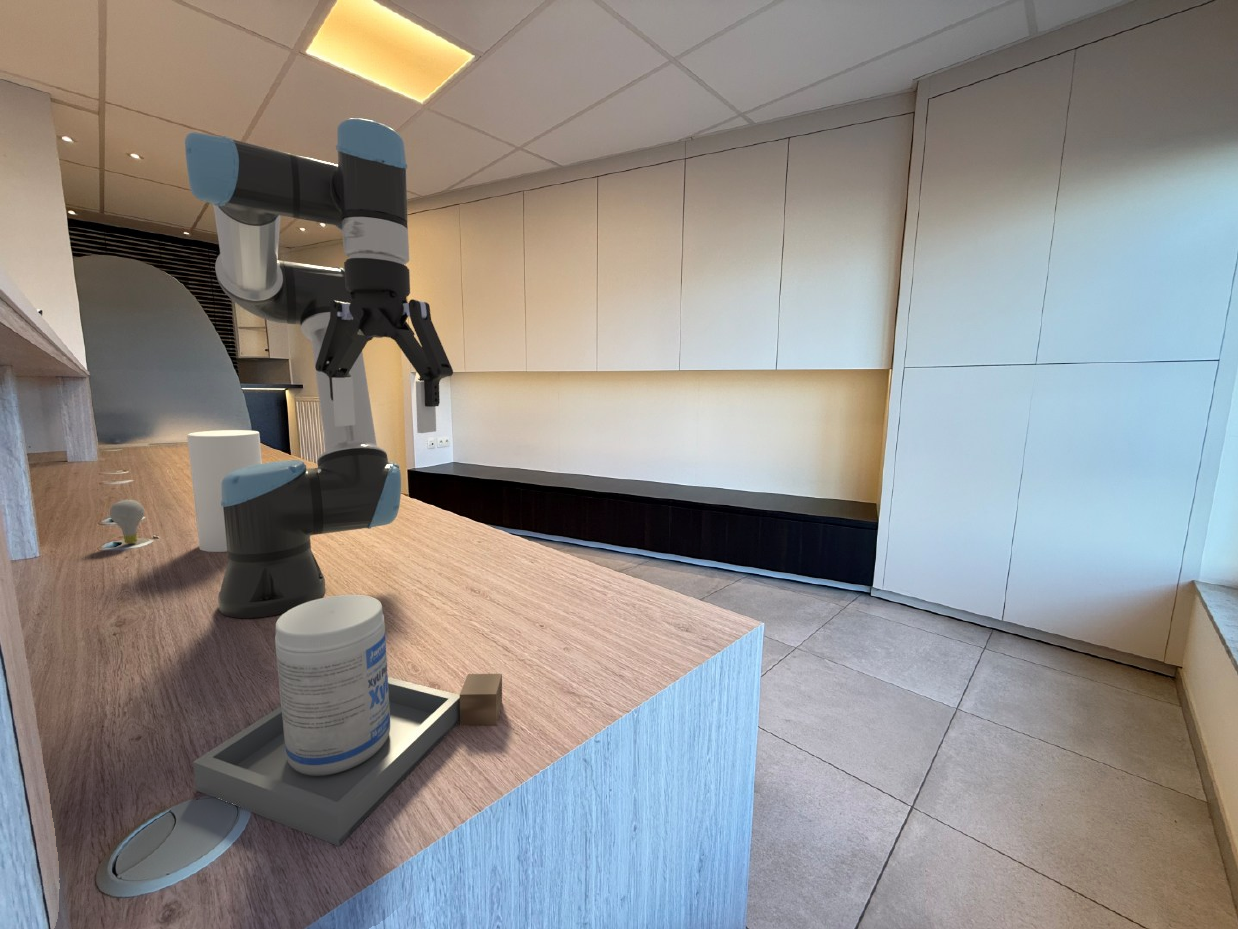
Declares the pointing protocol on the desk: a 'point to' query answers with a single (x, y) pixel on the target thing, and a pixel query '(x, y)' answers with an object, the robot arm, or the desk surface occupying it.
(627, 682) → the desk surface
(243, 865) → the desk surface
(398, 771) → the tray
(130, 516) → the light bulb
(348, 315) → the robot arm
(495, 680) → the walnut block
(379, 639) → the supplement tub
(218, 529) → the cylinder
